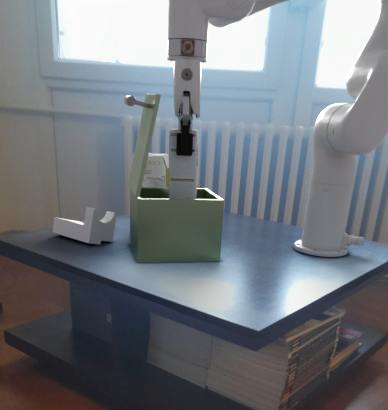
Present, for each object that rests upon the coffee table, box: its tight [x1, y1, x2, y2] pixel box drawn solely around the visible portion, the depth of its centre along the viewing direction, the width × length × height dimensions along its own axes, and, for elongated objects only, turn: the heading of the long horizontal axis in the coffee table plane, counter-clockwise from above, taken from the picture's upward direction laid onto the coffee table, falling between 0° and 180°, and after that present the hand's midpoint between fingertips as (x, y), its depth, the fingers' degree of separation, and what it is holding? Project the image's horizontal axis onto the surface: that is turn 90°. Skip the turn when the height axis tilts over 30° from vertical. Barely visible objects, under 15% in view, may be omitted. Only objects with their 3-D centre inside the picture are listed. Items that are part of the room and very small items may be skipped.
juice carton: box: [130, 152, 169, 188], centre depth 121 cm, size 8×9×19 cm
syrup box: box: [168, 127, 199, 199], centre depth 104 cm, size 6×6×14 cm
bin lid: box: [123, 93, 162, 197], centre depth 99 cm, size 18×15×5 cm
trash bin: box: [129, 187, 225, 264], centre depth 108 cm, size 18×15×13 cm
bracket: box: [51, 206, 118, 245], centre depth 117 cm, size 13×7×8 cm, turn 51°
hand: (184, 152), depth 102 cm, fingers closed on syrup box, 5 cm apart
